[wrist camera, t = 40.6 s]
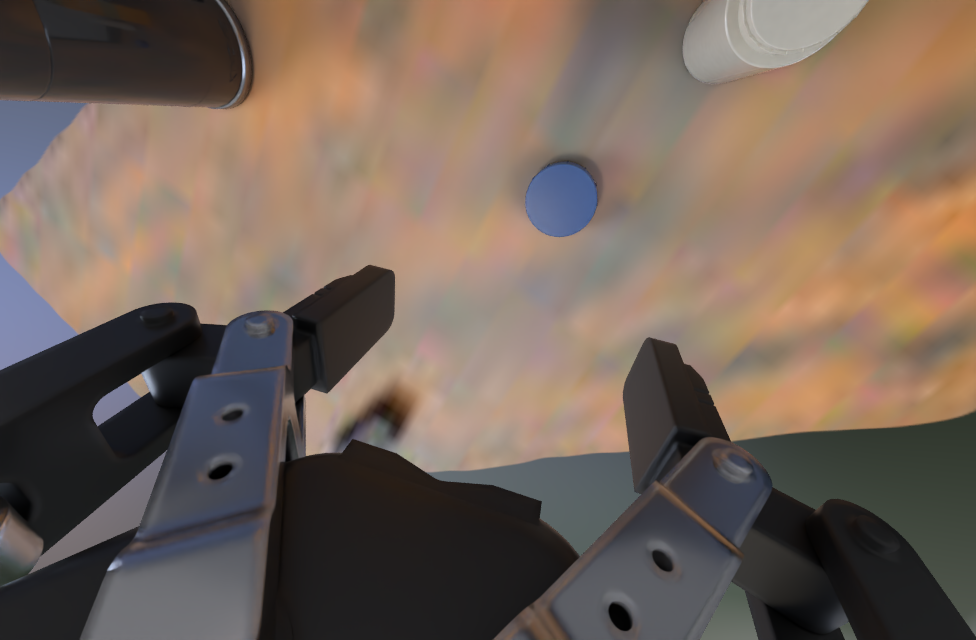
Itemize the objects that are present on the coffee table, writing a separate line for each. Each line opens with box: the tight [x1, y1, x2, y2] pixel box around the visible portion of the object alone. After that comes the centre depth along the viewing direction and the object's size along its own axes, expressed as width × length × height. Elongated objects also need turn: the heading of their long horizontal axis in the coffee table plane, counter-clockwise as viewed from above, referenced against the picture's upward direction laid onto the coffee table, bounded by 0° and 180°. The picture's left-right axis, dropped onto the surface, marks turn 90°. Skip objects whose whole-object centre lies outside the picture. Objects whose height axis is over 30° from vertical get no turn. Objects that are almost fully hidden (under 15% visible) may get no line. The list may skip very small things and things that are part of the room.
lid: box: [525, 161, 597, 237], centre depth 30 cm, size 6×6×2 cm
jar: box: [683, 0, 869, 84], centre depth 19 cm, size 5×5×11 cm
